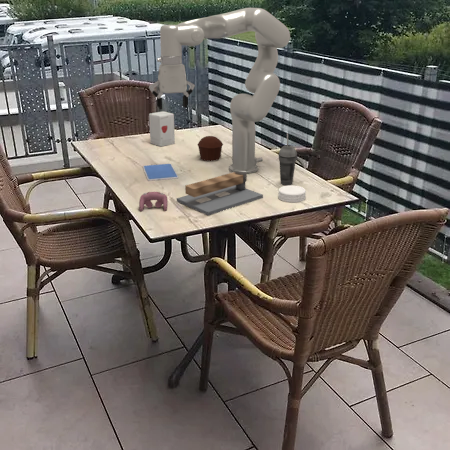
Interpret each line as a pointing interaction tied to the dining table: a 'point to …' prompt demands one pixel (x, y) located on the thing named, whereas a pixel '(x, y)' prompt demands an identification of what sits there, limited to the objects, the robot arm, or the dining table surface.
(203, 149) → the muffin
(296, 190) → the white round container
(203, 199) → the label panel
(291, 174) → the beverage cup
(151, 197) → the video game controller
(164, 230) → the dining table surface
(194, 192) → the swing bar
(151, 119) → the supplement box
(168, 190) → the dining table surface
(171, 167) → the tablet computer
